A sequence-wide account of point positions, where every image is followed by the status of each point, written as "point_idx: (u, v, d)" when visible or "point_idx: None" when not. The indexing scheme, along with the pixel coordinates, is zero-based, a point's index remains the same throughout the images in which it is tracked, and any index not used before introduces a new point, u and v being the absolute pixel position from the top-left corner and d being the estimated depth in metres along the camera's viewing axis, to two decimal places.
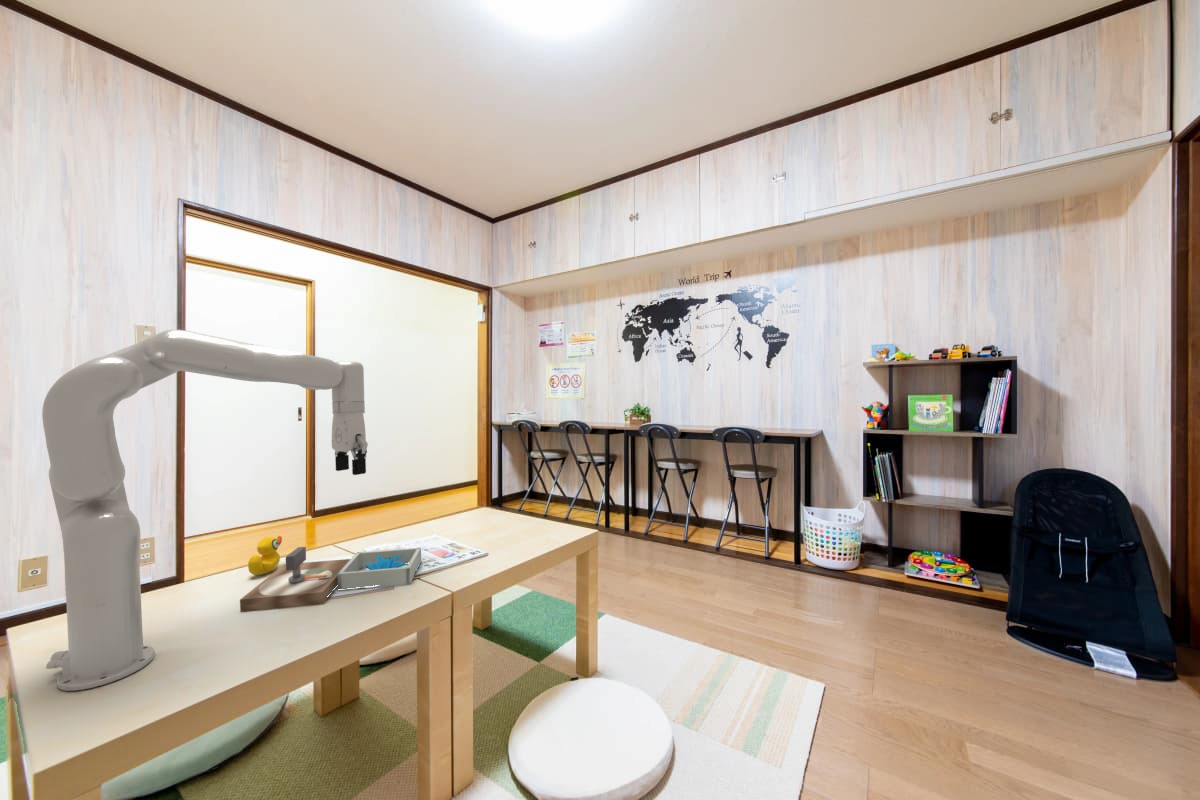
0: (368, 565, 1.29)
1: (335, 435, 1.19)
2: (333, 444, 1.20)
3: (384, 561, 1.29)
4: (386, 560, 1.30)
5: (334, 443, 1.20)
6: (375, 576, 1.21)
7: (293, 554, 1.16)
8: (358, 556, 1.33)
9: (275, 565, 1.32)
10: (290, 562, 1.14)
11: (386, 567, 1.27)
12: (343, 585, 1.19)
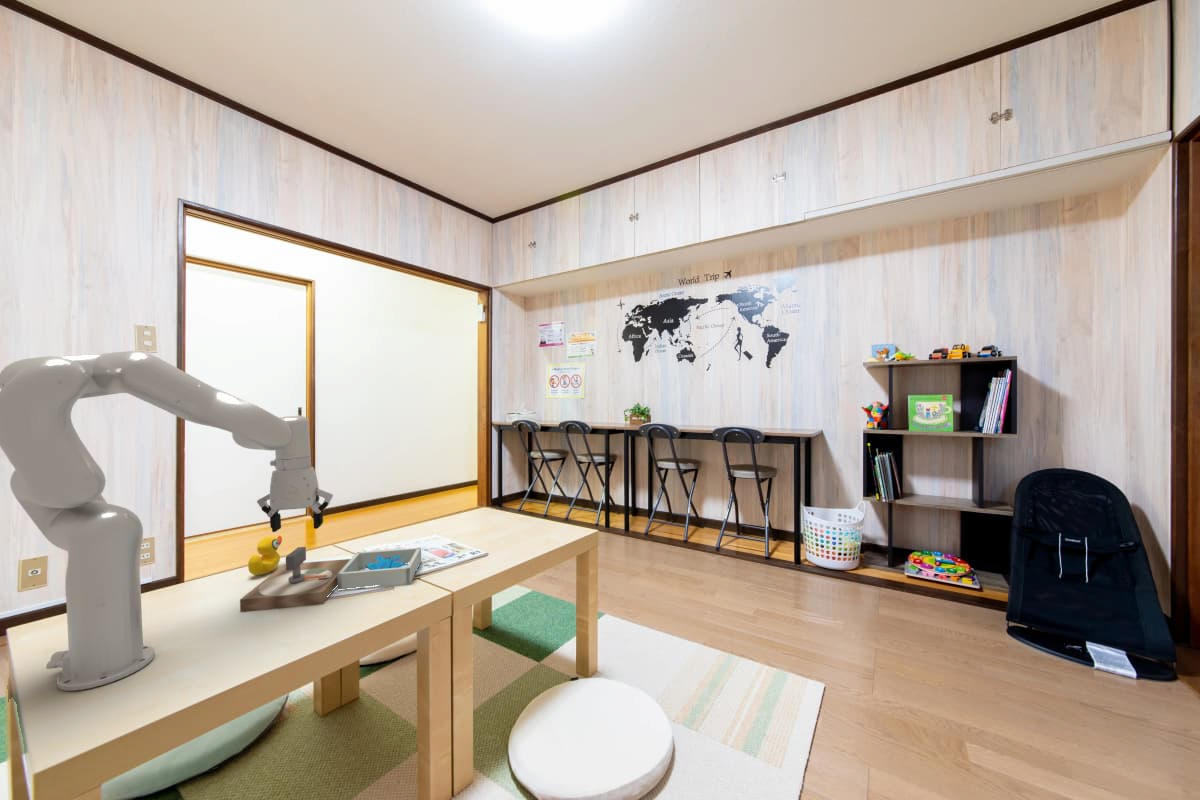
0: (368, 565, 1.29)
1: (282, 494, 1.14)
2: (276, 504, 1.14)
3: (384, 561, 1.29)
4: (386, 560, 1.30)
5: (279, 502, 1.14)
6: (375, 576, 1.21)
7: (293, 554, 1.16)
8: (358, 556, 1.33)
9: (275, 565, 1.32)
10: (290, 562, 1.14)
11: (386, 567, 1.27)
12: (343, 585, 1.19)
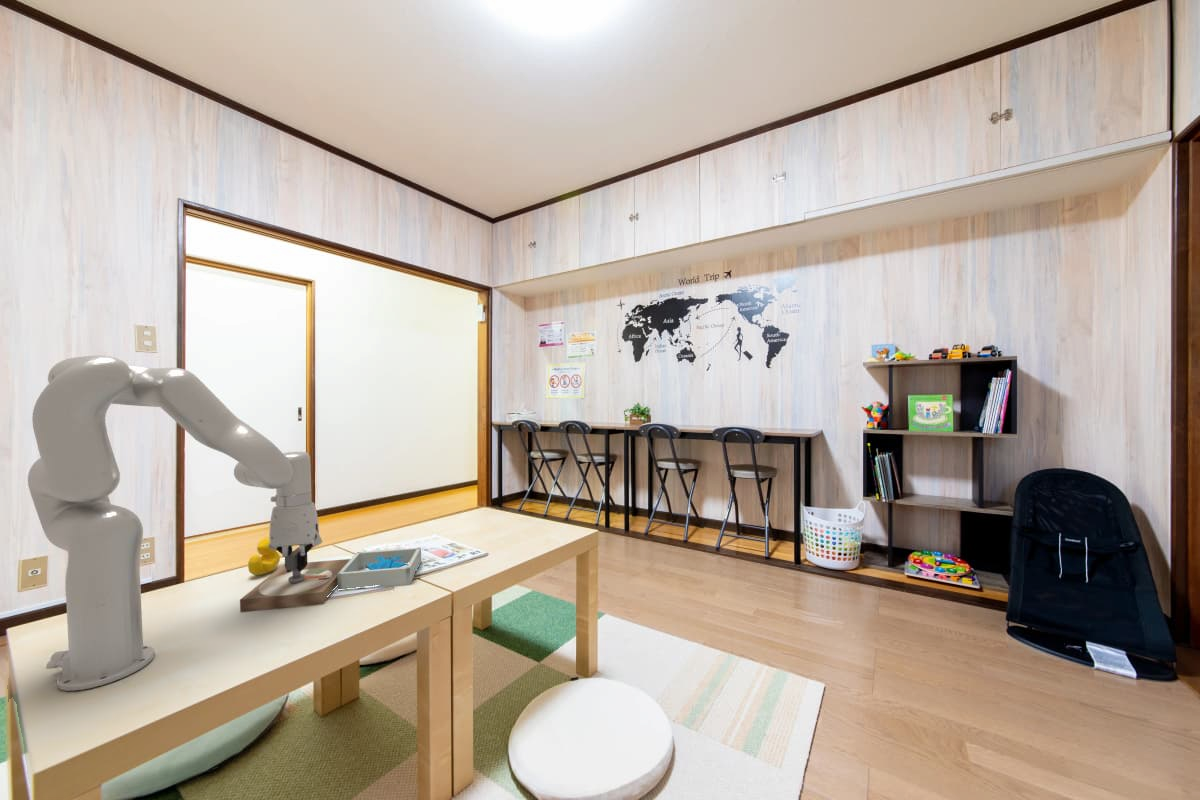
0: (368, 565, 1.29)
1: (282, 530, 1.14)
2: (276, 540, 1.14)
3: (384, 561, 1.29)
4: (386, 560, 1.30)
5: (279, 539, 1.14)
6: (375, 576, 1.21)
7: (293, 554, 1.16)
8: (358, 556, 1.33)
9: (275, 565, 1.32)
10: (290, 562, 1.14)
11: (386, 567, 1.27)
12: (343, 585, 1.19)
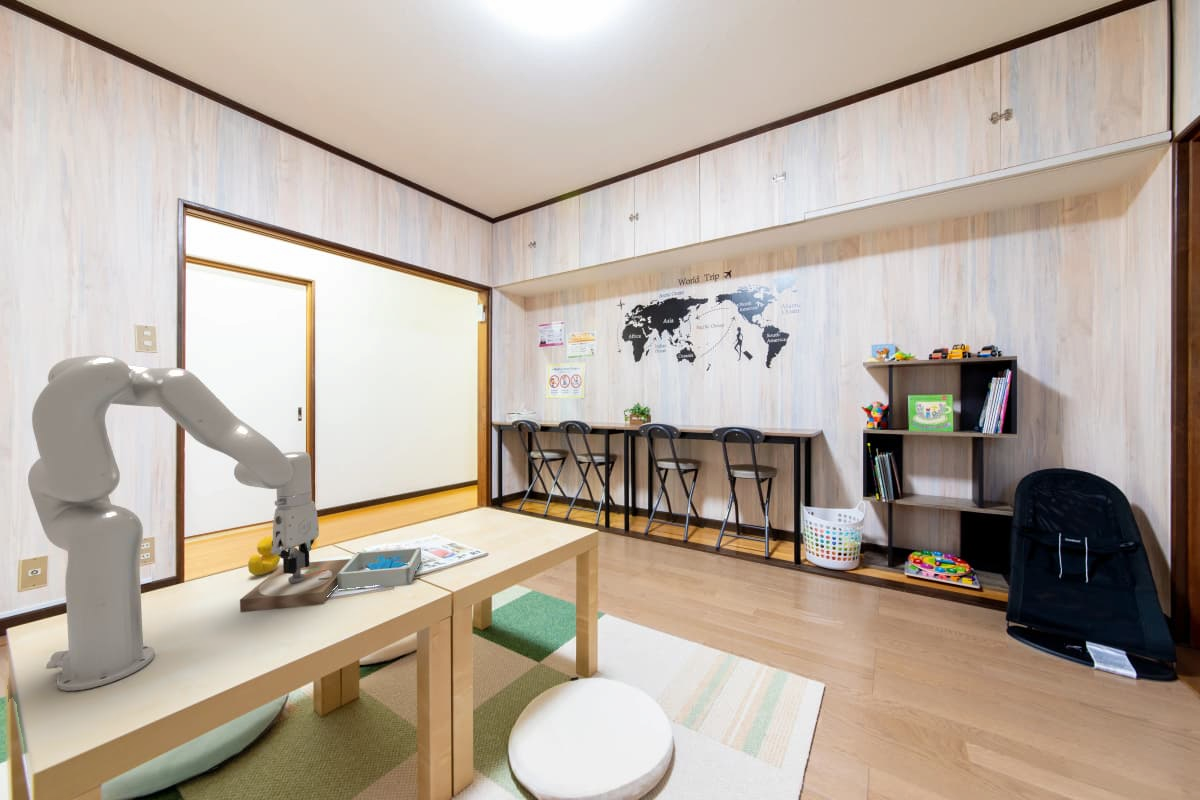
0: (368, 565, 1.29)
1: (298, 529, 1.15)
2: (294, 541, 1.14)
3: (384, 561, 1.29)
4: (386, 560, 1.30)
5: (296, 539, 1.14)
6: (375, 576, 1.21)
7: (300, 553, 1.17)
8: (358, 556, 1.33)
9: (275, 565, 1.32)
10: (301, 560, 1.16)
11: (386, 567, 1.27)
12: (343, 585, 1.19)
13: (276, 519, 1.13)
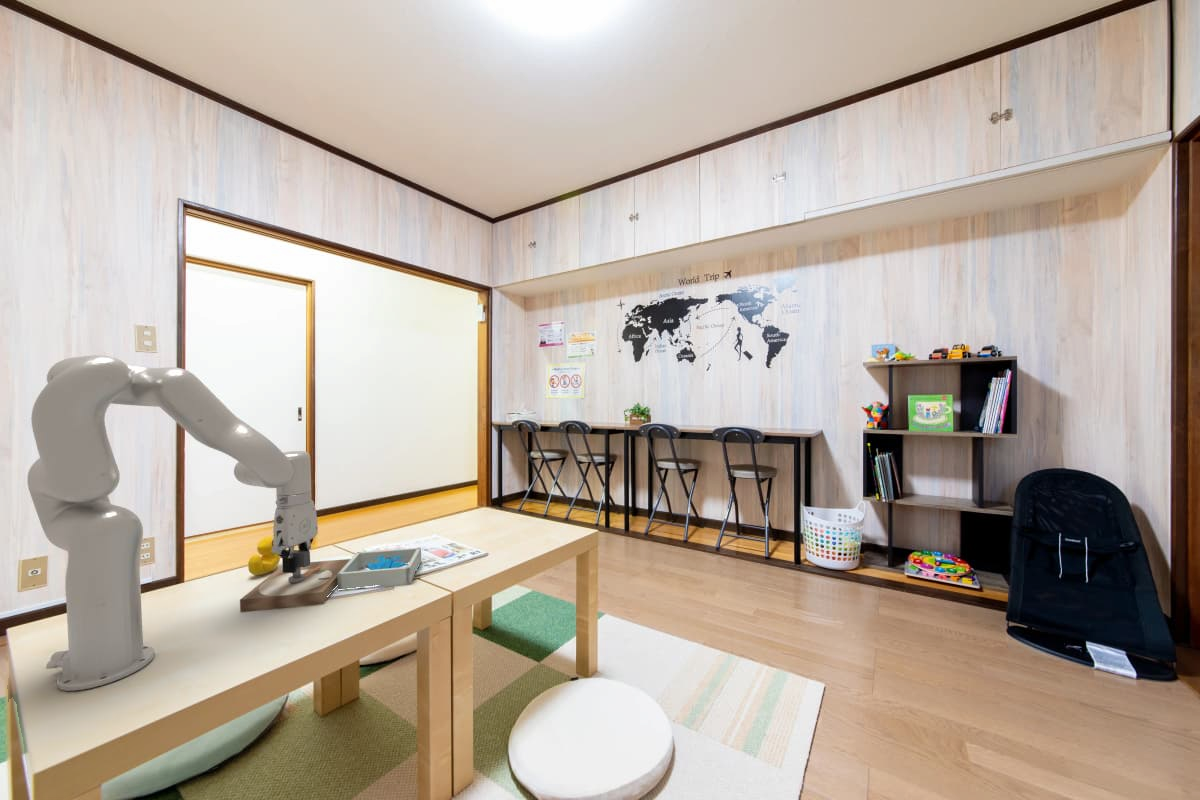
0: (368, 565, 1.29)
1: (299, 528, 1.15)
2: (295, 540, 1.14)
3: (384, 561, 1.29)
4: (386, 560, 1.30)
5: (297, 538, 1.15)
6: (375, 576, 1.21)
7: (303, 551, 1.17)
8: (358, 556, 1.33)
9: (275, 565, 1.32)
10: (307, 558, 1.17)
11: (386, 567, 1.27)
12: (343, 585, 1.19)
13: (277, 518, 1.13)
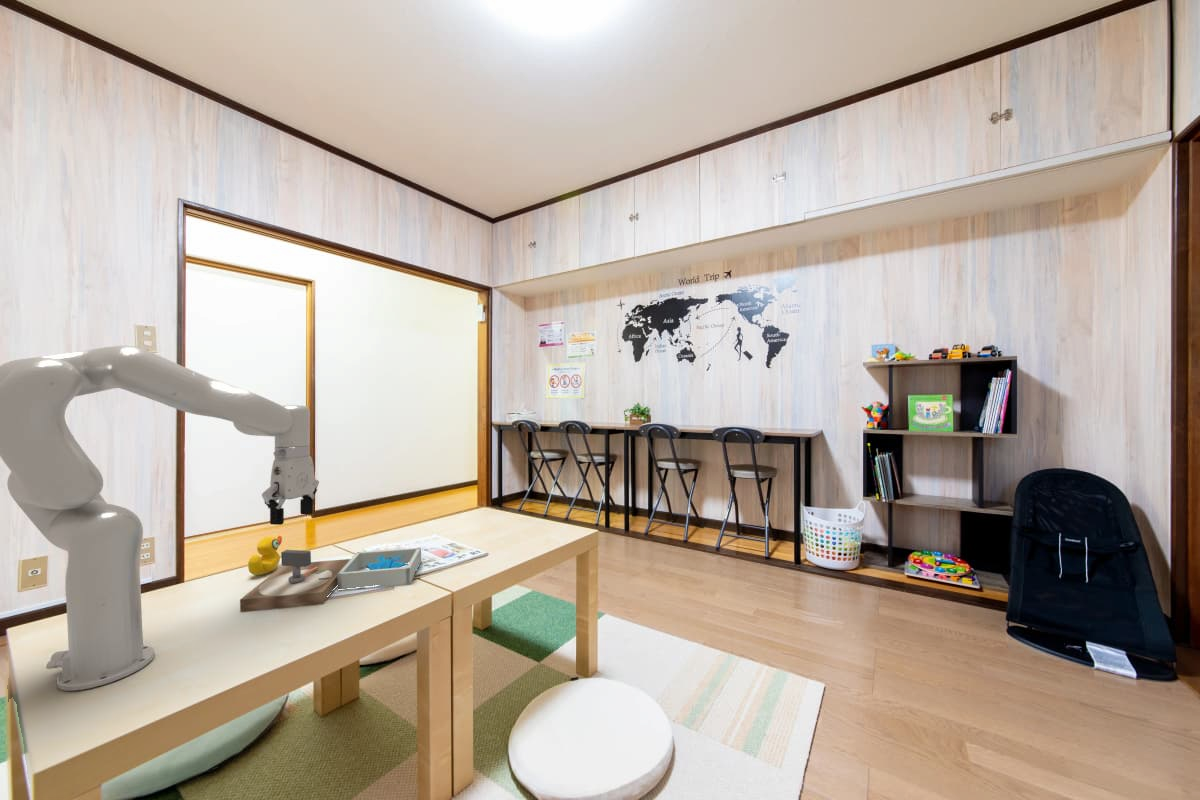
0: (368, 565, 1.29)
1: (296, 482, 1.15)
2: (292, 492, 1.13)
3: (384, 561, 1.29)
4: (386, 560, 1.30)
5: (294, 491, 1.14)
6: (375, 576, 1.21)
7: (303, 551, 1.18)
8: (358, 556, 1.33)
9: (275, 565, 1.32)
10: (308, 558, 1.17)
11: (385, 567, 1.27)
12: (343, 585, 1.19)
13: (274, 470, 1.12)
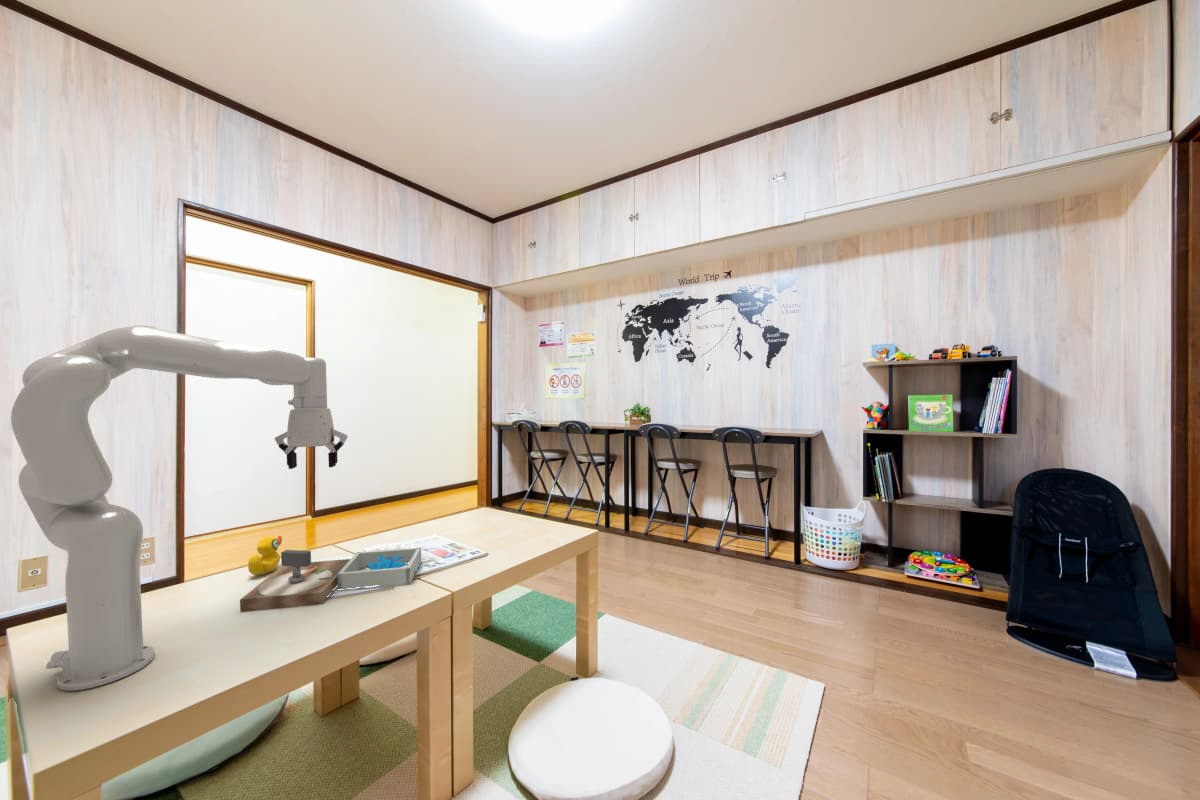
0: (369, 564, 1.29)
1: (299, 431, 1.18)
2: (293, 441, 1.18)
3: (384, 561, 1.29)
4: (386, 560, 1.30)
5: (296, 439, 1.18)
6: (375, 576, 1.21)
7: (303, 551, 1.18)
8: (358, 556, 1.33)
9: (275, 565, 1.32)
10: (308, 557, 1.17)
11: (386, 567, 1.27)
12: (343, 585, 1.19)
13: None
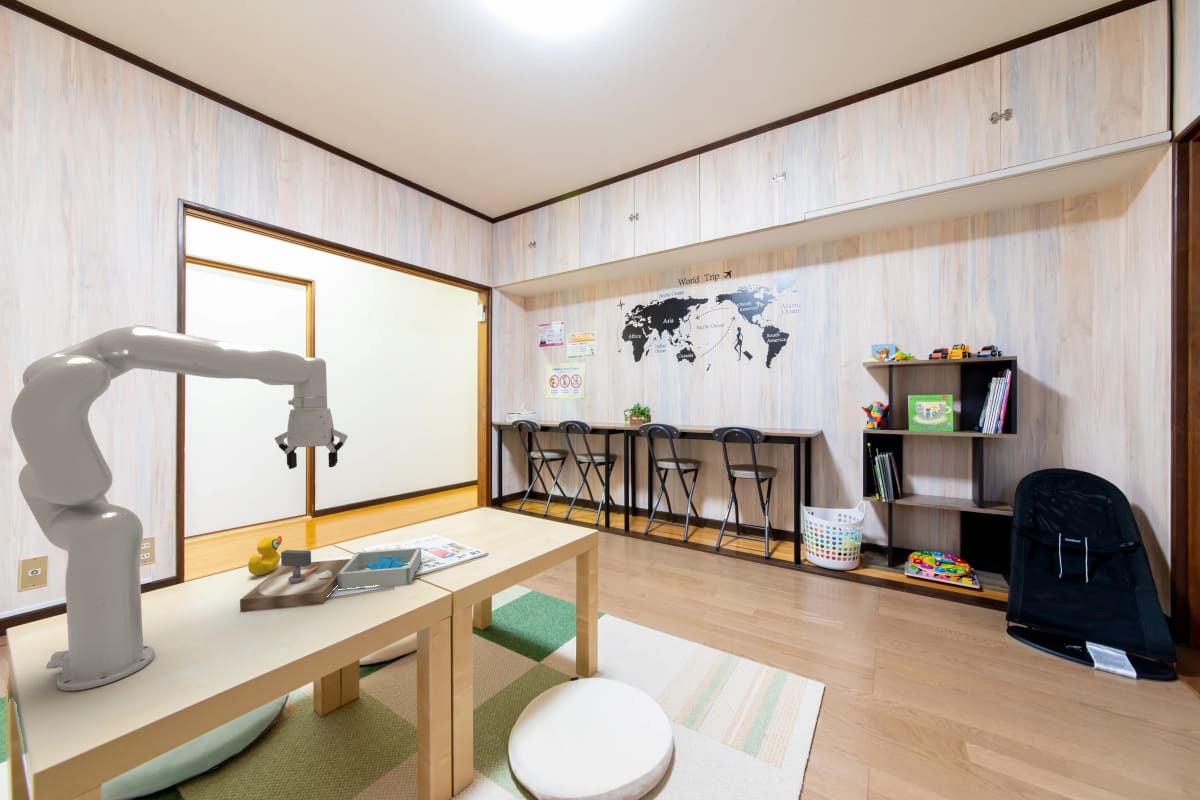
0: (369, 564, 1.30)
1: (299, 431, 1.18)
2: (293, 441, 1.18)
3: (384, 561, 1.29)
4: (386, 560, 1.30)
5: (296, 439, 1.18)
6: (375, 576, 1.21)
7: (304, 551, 1.18)
8: (358, 556, 1.33)
9: (275, 565, 1.32)
10: (308, 557, 1.17)
11: (385, 567, 1.27)
12: (343, 585, 1.19)
13: None
